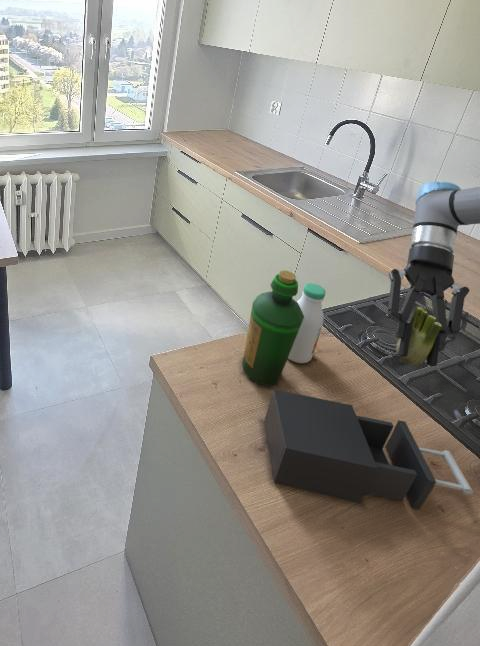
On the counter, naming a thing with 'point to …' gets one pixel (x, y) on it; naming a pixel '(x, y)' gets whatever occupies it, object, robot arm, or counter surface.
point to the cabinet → (318, 446)
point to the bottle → (272, 330)
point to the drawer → (404, 464)
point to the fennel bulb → (420, 337)
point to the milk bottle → (308, 323)
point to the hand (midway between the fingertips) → (416, 360)
